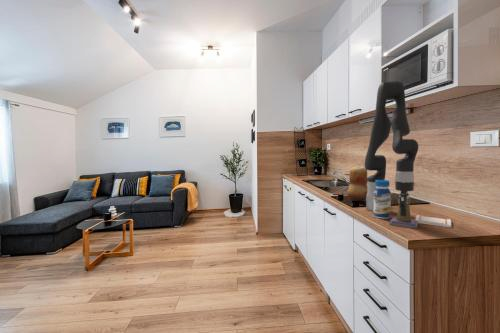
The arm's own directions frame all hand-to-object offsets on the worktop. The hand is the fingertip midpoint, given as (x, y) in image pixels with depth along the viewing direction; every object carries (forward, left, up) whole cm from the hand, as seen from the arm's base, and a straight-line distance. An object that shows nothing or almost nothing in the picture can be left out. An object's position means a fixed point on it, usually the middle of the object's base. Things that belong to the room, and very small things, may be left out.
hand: (403, 215), depth 117 cm
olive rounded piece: (0, 0, -2) cm, 2 cm away
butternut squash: (-32, +42, -5) cm, 53 cm away
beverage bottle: (-11, +8, -5) cm, 14 cm away
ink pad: (0, 0, -4) cm, 4 cm away
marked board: (+11, +12, -4) cm, 17 cm away
